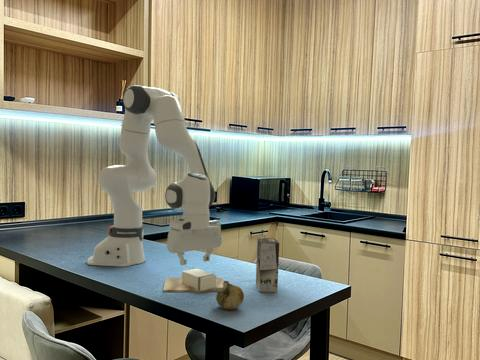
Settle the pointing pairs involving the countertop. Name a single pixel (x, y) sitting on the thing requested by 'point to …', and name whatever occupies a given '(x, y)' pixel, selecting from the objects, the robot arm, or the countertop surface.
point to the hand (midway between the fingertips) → (195, 262)
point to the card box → (199, 279)
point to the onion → (229, 296)
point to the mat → (186, 286)
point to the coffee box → (267, 264)
